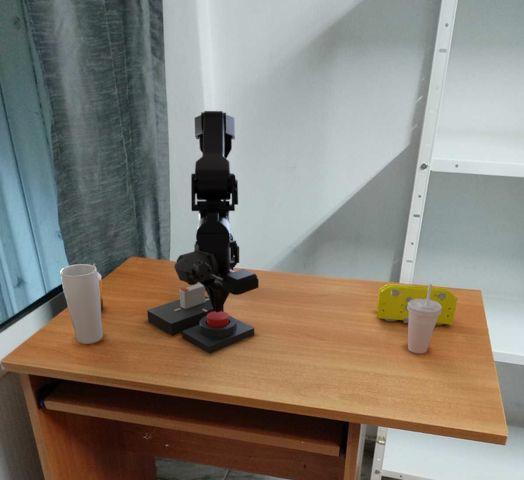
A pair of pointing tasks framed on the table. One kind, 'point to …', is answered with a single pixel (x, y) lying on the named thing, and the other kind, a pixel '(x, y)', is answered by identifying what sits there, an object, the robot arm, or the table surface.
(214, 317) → the power button
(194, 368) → the table surface
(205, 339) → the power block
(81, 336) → the drinking glass
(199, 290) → the grey block red tip
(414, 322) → the smoothie
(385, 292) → the yellow toy chassis
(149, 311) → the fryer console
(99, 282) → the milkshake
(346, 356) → the table surface
